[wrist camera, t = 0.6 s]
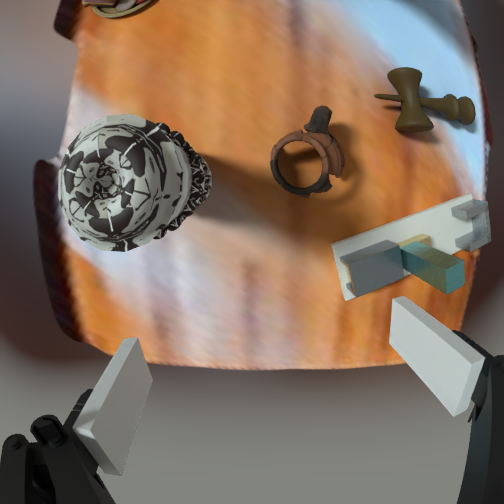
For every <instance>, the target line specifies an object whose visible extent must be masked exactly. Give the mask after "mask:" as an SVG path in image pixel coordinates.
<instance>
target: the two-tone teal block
mask: <svg viewBox="0 0 504 504" xmlns="http://www.w3.org/2000/svg"><path fill="white" fill-rule="evenodd" d="M397 244H398V245H399V246H400V252H401V258H402V264H403V269H405V270H406V271H408V272H410V273H411V274H413V275H415V276H417V277H418V278H420V279H422V280H423V281H425V282H427V283H428V284H430V285H432V286H433V287H435V288H437V289H438V290H440V291H442V292H443V293H445V294H449V293H451V292H453V291H454V290H456V289H458V288H460V287H461V286H463V285H465V270H464V260H462V259H460V258H457V257H455V256H452V255H450V254H448V253H445V252H443V251H440V250H438V249H435V248H433V247H431V239H430V236H428V235H425V234H419V235H417V236H415V237H412V238H410V239H407V240H405V241H402V242H400V243H397ZM346 270H347V275H348V279H349V282H351V279H350V274H349V270H348V267H347V266H346Z"/></svg>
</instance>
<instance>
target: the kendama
mask: <svg viewBox="0 0 504 504" xmlns="http://www.w3.org/2000/svg"><path fill="white" fill-rule="evenodd" d="M387 76H388V79H389V81H390V82H391V83H392V84H393V86H394V87H395V88H396V90H397V92H398V94H399V95H388V94H375V95H374V97H375V98H379V99H385V100H392V101H398V102H401V114H400V116H399V118H398V120H397V123H396V125H395V129H396V130H398V131H403V132H423V131H429V130H431V129H433V128H434V125H433V123H432V122H431V121H430V119H429V118H428V117H427V115H426V114H425V113H424V111H423V110H422V108H421V106H422V107H426V108H429V109H432V110H435V111H438V112H440V113H442V114H444V116H445V117H446V119H448V120H451V121H453V120H455V119H458V120H459V122H460V123H462V124H463V125H469V124H472V122H473V121H474V120H475V115H476V113H475V107H474V103H473V102H472V100H471V99H470V98H468V97H460V98H459V99H457V98H456V97H455V96H454V95H452V94H447V95H446V96H444V98H421V97H419V92H418V91H419V85H420V81H421V78H422V73H421V72H420V71H419V70H417V69H414V68H408V67H403V68H396V69H393V70H391V71H390V72H389V73H388V74H387Z"/></svg>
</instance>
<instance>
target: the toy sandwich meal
mask: <svg viewBox="0 0 504 504" xmlns="http://www.w3.org/2000/svg"><path fill="white" fill-rule="evenodd" d="M150 1H151V0H82V5H83V7H88V6H92V9H93V11H94V12H95V13H96V14H97V15H99V16H102V17H107V18H113V17H120V16H124V15H127V14H130V13H132V12H134V11H136V10H138V9H140V8H142V7H143V6H145V5H146V4H148V3H149V2H150Z"/></svg>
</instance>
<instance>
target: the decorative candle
mask: <svg viewBox="0 0 504 504" xmlns="http://www.w3.org/2000/svg"><path fill="white" fill-rule="evenodd" d="M211 188H212V174H211V171H210V167H209V165H208V164H207V163H206V161H205V160H204V158H203V157H202V156H200V155H199V154H197V153H196V152H195V151H194V150H193V148H192V147H191V146H190V145H189V143H188V142H187V141H185V140H184V137H183V135H182V134H181V133H179V132H178V131H172V132H170V129H169V127H168V126H167V125H166V124H164V123H156V124H155V123H153V122H150V121H148V120H145V119H143V118H140V117H138V116H135V115H133V114H123V115H110V116H105V117H103V118H102V119H100V120H98V121H96V122H94V123H92V124H90V125H89V126H87V127H85V128H84V129H83V130H82V131H81V132H80V134H79V135H78V136H77V137H76V138H75V139H74V141H73V142H72V143H71V144H70V146H69V147H68V149H67V151H66V154H65V157H64V159H63V162H62V165H61V167H60V170H59V188H58V197H59V201H60V204H61V207H62V210H63V213H64V216H65V219H66V221H67V222H68V224H69V225H70V226H71V227H72V229H73V230H74V231H75V232H76V234H77V235H78V236H79V237H80V238H81V239H82V240H83V241H85V242H87V243H89V244H91V245H93V246H95V247H96V248H98V249H100V250H104V251H121V252H126V251H129V250H131V249H134V248H136V247H139V246H142V245H144V244H147V243H149V242H150V241H151V240H152V239H160V238H162V237H164V236H165V234H166V232H167V230H169V231H174V230H176V229H177V228H179V226H180V225H181V223H182V222H183V221H184V220H185V219H186V217H188V216H190V215H192V213H193V211H195V210H196V209H197V208H198V207H199V206H200V205H201V204H202V203H204V202H205V201H206V199H207V197H208V195H209V193H210V191H211Z"/></svg>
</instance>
